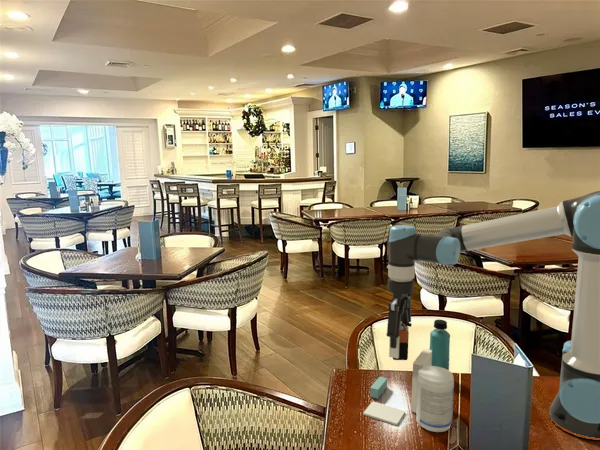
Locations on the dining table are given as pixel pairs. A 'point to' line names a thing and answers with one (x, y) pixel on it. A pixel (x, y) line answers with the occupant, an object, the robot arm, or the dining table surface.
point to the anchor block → (378, 387)
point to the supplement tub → (435, 398)
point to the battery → (403, 342)
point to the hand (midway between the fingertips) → (398, 351)
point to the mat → (384, 413)
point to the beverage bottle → (440, 344)
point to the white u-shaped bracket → (420, 362)
